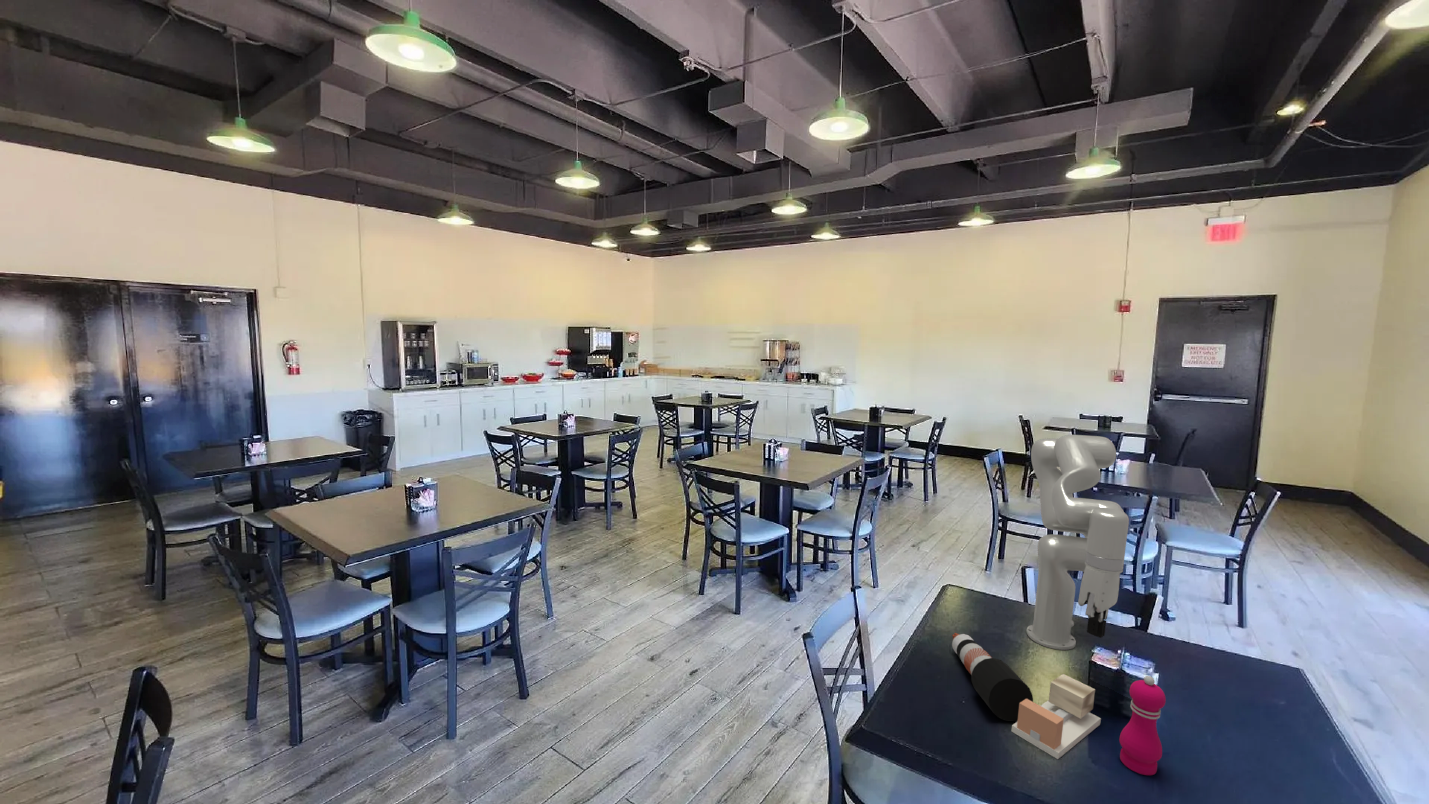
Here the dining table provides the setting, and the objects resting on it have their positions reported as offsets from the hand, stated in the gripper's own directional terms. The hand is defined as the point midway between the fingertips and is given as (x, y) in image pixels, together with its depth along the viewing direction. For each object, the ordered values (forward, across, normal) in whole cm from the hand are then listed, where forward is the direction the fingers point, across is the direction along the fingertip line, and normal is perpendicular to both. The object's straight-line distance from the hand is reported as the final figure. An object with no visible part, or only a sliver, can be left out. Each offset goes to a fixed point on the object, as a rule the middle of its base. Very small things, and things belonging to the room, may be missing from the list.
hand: (1095, 634), depth 138 cm
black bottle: (+19, +12, -20) cm, 30 cm away
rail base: (+19, +15, 0) cm, 24 cm away
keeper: (+15, +9, 0) cm, 18 cm away
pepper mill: (+19, +12, +15) cm, 27 cm away
